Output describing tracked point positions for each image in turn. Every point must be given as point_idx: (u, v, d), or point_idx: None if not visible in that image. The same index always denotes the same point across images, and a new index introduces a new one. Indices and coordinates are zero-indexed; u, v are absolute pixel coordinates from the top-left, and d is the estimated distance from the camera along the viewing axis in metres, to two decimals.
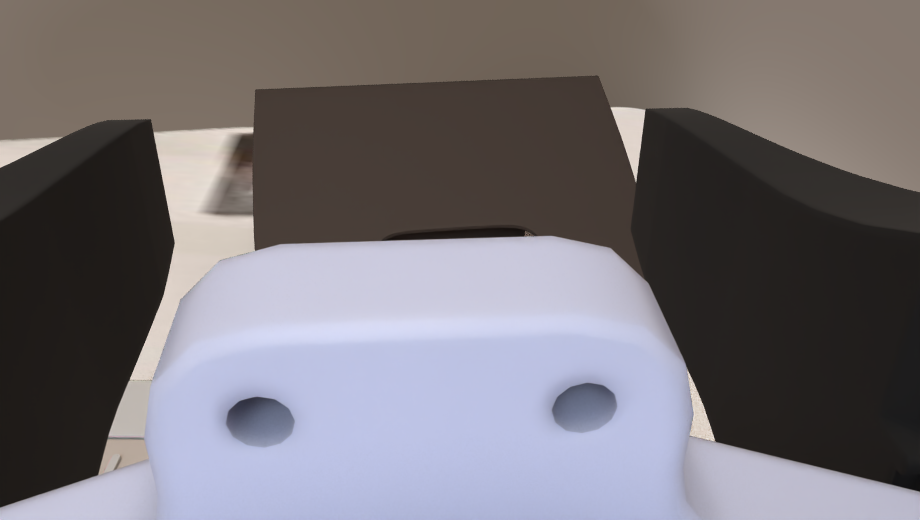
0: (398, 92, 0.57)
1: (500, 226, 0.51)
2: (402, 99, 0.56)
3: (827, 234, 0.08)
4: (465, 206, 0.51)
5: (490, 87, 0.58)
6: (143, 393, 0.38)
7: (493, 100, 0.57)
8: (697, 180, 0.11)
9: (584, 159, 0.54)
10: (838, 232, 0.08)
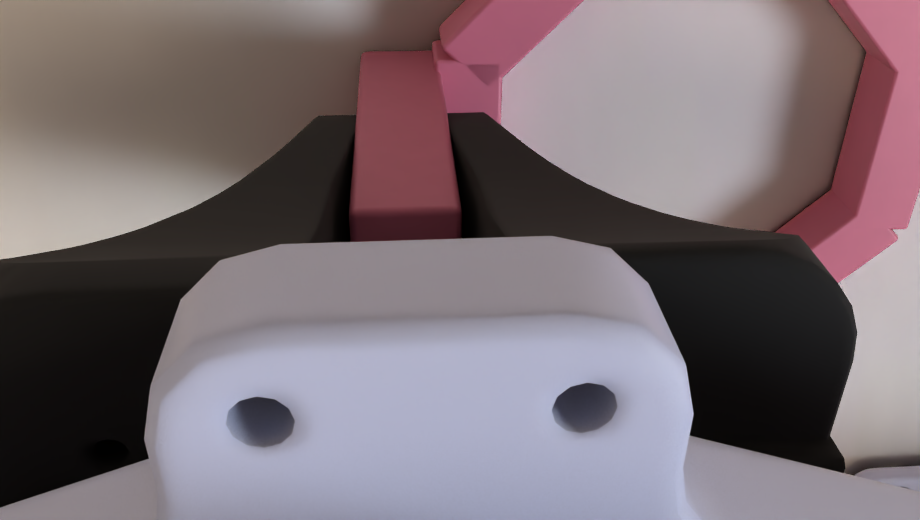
0: None
1: None
2: None
3: None
4: None
5: None
6: None
7: None
8: (460, 186, 0.11)
9: None
10: None
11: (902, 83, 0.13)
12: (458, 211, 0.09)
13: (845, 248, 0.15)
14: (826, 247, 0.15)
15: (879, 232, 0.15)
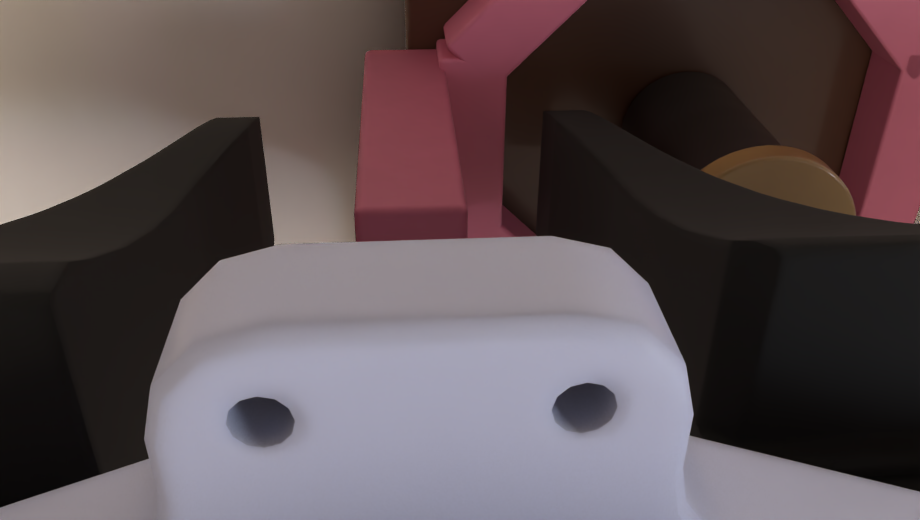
0: None
1: None
2: None
3: (662, 239, 0.08)
4: None
5: None
6: None
7: None
8: (578, 183, 0.11)
9: None
10: (670, 236, 0.07)
11: (908, 82, 0.13)
12: (464, 210, 0.09)
13: None
14: None
15: None
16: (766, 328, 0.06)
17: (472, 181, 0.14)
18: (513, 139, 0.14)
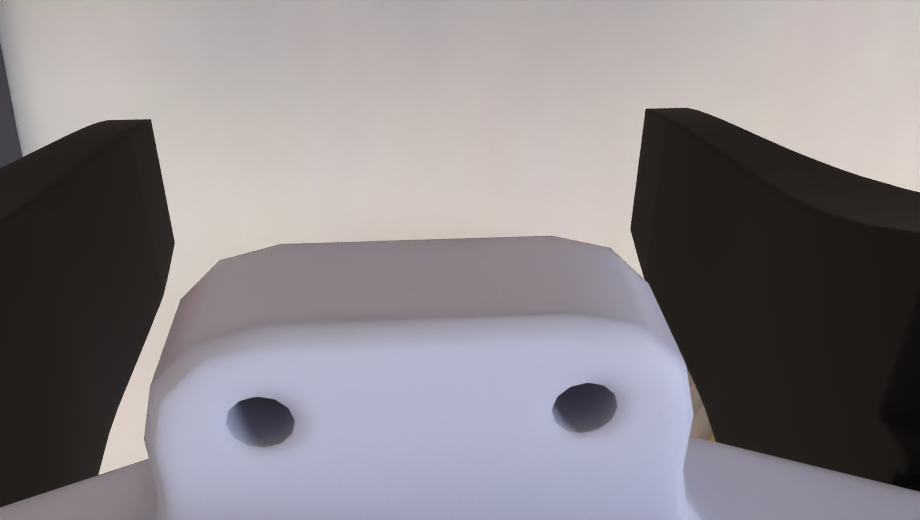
0: None
1: None
2: None
3: (827, 234, 0.08)
4: None
5: None
6: None
7: None
8: (697, 180, 0.11)
9: None
10: (838, 232, 0.08)
11: None
12: None
13: None
14: None
15: None
16: None
17: None
18: None
